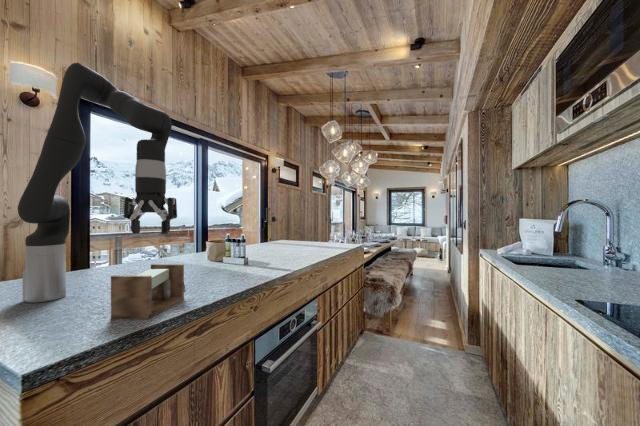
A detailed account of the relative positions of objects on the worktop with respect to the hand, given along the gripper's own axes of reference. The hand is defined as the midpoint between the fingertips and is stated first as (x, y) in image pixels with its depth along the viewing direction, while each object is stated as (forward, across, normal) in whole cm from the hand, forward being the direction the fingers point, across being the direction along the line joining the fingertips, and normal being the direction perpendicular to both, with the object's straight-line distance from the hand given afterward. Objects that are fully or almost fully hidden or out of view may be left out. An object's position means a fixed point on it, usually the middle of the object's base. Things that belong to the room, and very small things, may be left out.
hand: (150, 233), depth 81 cm
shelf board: (+14, 0, 0) cm, 14 cm away
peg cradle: (+21, 0, 0) cm, 21 cm away
